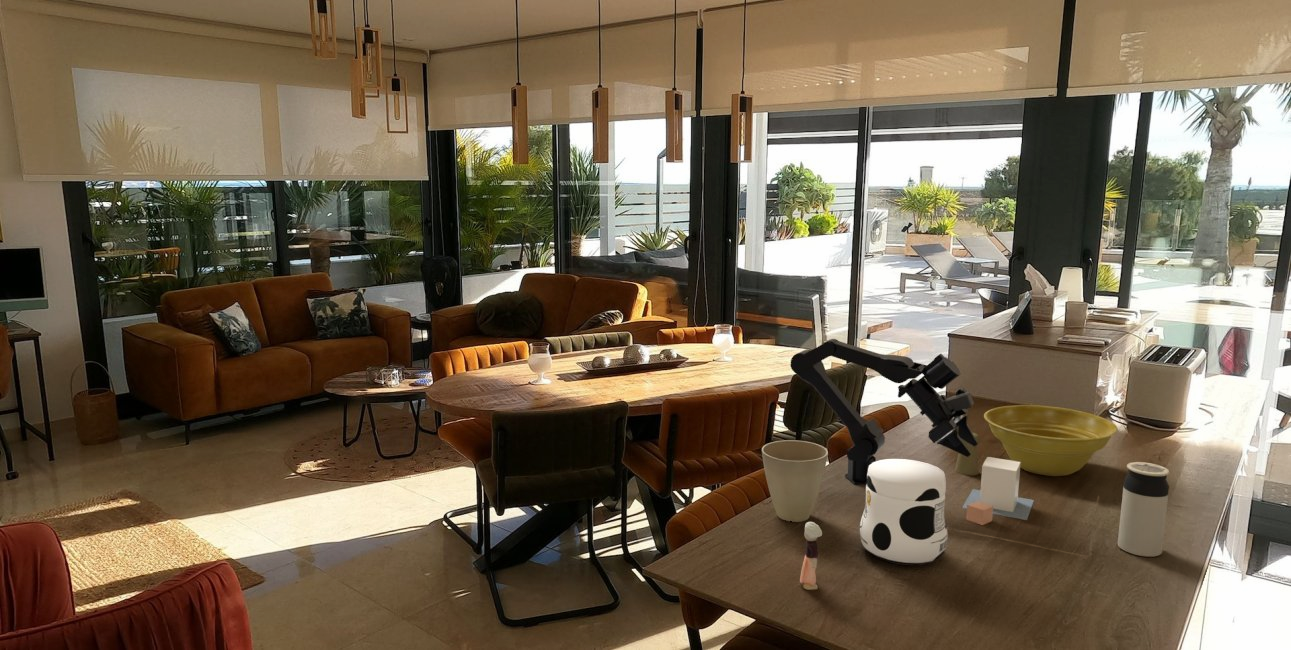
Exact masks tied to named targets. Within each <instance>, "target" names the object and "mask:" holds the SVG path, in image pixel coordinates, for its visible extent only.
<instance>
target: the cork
mask: <svg viewBox="0 0 1291 650" xmlns="http://www.w3.org/2000/svg"><path fill="white" fill-rule="evenodd" d="M972 433H973V435H974V437H975V439H976V441H977V443H978V444H977V445H976V446H972V445H971V444H969V443H967V442H966V441H964V440H963V439H962V441H963V442H964V444H965V445H966V447H967V448H968V450H969V451H970V453H971V455H970V456H969V457H966V456H964V455H962V454H960V453H957V459H956V460H957V461H956V463H955V468H954V471H955V472H956V473H957V474H960V475H963V476H977V475H979V474H980V472H979V471H980V470H979V459H978V458H979V456H978V446H979V445H980V436H979V435H978V434H977V432H972Z"/></svg>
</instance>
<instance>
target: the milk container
mask: <svg viewBox="0 0 1291 650" xmlns="http://www.w3.org/2000/svg"><path fill="white" fill-rule="evenodd" d="M946 489H947V483H946V475H945V472H944V470H942V469H941V468H939V467H938V466H936V465H933V464H931V463H927V462H922V461H919V460H914V459H905V458H887V459H880V460H876V462H873V463H872V464H870V465H869V467H868V473H867V483H866V485H865V505H864V510H863V513H862V516H861V519H860V523H859V536H860V541H861V544H862V546H863V548H864V549H865V550H866V551H867V552H868V553H869V554H871V555H873V556H875V557H876V558H878V559H880V560H883V561H886V562H889V563H892V564H898V565H904V566H922V565H928V564H930V563H933V562H935V561H937V560H939V559H941V557H942V556H943V555H944V554H945V551H946V547H947V544H948V528H947V523H946V520H945V519H946V518H945V504H946Z"/></svg>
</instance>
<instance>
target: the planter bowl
mask: <svg viewBox="0 0 1291 650" xmlns="http://www.w3.org/2000/svg"><path fill="white" fill-rule="evenodd" d="M983 418H984V420H985V421H986V422H987V423H988V426H989V429H990V431H991V433H992V435H994V437H995V438H996V439H998V440H999V441H1000V442H1001V443H1002V445H1003V448H1004V450H1005V452H1006V453H1007V456H1008V457H1009V460H1011V461H1017V462H1021V463H1020V469H1021V470H1023V469H1024V471H1025V472H1029V473H1033V474H1037V475H1044V476H1049V477H1052V476H1053V477H1054V476H1055V477H1061V476H1064V477H1065V476H1069V475H1072V474H1074V473H1076V472H1078V471H1080V470H1081V469H1082V468H1083V467H1084V466H1085V465H1086V464H1087V463H1088V461H1090V459H1091V458H1092V457H1093V456H1092V455H1094V453H1096V452H1097V451H1100V450H1102V449H1103V448H1105V447H1106V445H1107V444H1108V443H1109V441H1110V439H1111V437H1113V436H1114V435H1116V434H1117V433H1118V431H1119V429H1118V427H1117V425H1116V424H1115V423H1113V422H1112V421H1110V420H1109V419H1106V418H1104V417H1102V416H1099V415H1095V414H1092V413H1089V412H1085V411H1080V410H1076V409H1072V408H1065V407H1057V406H1047V405H1035V404H1033V405H1030V404H1027V405H1026V404H1022V405H1021V404H1019V405H1016V404H1015V405H1005V406H999V407H994V408H991V409H989V410H987V411H986V412H984V414H983Z"/></svg>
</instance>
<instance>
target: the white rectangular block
mask: <svg viewBox="0 0 1291 650" xmlns="http://www.w3.org/2000/svg"><path fill="white" fill-rule="evenodd" d="M1020 463H1021V462H1017V461H1012V460H1011V459H1003V458H997V457H991V456H987V457H986V459H985V460H984V462H983V464H982V465H981V477H980V478H981V479H980V490H981V491H980V502H982V503H985V504H988V505H991V506H993V509H999V510H1004V511H1009V512H1013V511H1014V509H1015V506H1016V504H1017V501H1018V497H1019V485H1020V474H1021V472H1020V471H1021V468H1020Z"/></svg>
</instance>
